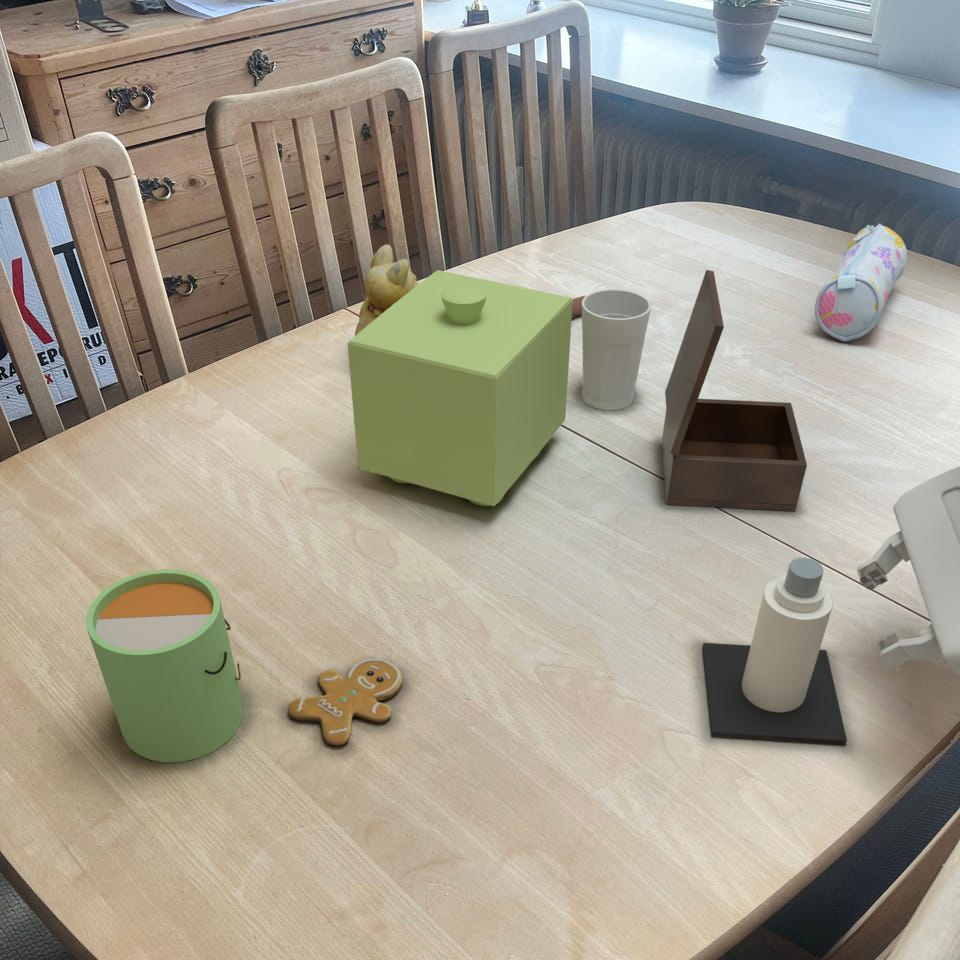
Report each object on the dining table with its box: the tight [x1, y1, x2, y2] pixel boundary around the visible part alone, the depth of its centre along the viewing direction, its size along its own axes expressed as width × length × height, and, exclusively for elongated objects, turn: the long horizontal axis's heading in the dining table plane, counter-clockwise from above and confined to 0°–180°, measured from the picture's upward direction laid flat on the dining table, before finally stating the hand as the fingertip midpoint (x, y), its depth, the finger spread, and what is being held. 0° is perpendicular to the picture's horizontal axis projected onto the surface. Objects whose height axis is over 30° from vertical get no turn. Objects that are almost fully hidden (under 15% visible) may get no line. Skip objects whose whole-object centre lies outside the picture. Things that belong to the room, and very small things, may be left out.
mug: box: [85, 568, 244, 763], centre depth 86 cm, size 13×10×12 cm
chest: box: [661, 398, 808, 512], centre depth 114 cm, size 14×13×6 cm
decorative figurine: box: [354, 243, 420, 336], centre depth 129 cm, size 10×8×15 cm
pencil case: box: [814, 223, 908, 342], centre depth 142 cm, size 21×9×10 cm, turn 154°
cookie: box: [287, 658, 403, 746], centre depth 90 cm, size 8×1×10 cm
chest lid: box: [664, 269, 725, 455], centre depth 107 cm, size 14×13×1 cm
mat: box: [702, 642, 848, 746], centre depth 91 cm, size 11×11×1 cm
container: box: [347, 269, 573, 507], centre depth 111 cm, size 19×16×20 cm
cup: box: [581, 288, 652, 411], centre depth 124 cm, size 8×8×12 cm
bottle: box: [742, 557, 834, 712], centre depth 86 cm, size 5×5×14 cm
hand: (871, 616), depth 85 cm, fingers open, 8 cm apart
